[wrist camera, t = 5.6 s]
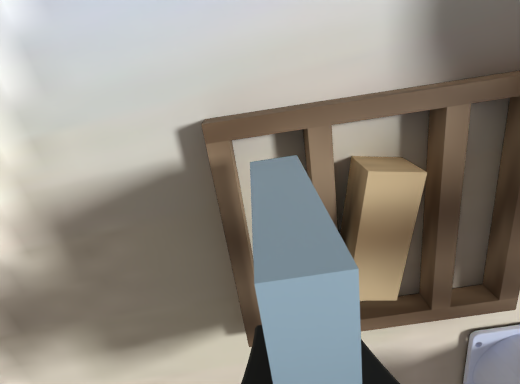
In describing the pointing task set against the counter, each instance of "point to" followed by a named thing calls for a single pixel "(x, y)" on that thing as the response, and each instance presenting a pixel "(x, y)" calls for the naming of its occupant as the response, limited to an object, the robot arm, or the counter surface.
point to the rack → (435, 205)
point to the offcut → (381, 221)
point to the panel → (303, 279)
